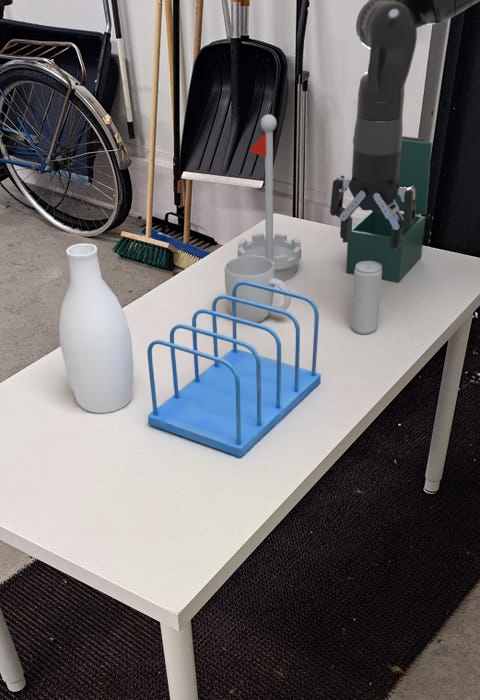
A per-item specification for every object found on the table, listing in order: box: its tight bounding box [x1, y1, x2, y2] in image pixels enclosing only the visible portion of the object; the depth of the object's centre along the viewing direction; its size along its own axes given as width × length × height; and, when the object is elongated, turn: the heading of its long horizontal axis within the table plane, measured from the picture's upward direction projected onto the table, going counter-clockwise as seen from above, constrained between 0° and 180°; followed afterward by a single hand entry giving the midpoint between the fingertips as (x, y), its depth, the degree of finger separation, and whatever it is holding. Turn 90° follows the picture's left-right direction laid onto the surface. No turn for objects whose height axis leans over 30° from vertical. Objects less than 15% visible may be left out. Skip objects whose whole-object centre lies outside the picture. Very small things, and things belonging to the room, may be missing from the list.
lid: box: [394, 135, 433, 216], centre depth 171 cm, size 14×11×5 cm
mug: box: [224, 256, 292, 324], centre depth 157 cm, size 13×9×10 cm
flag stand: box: [236, 113, 302, 281], centre depth 167 cm, size 13×13×30 cm
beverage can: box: [350, 261, 382, 335], centre depth 152 cm, size 5×5×12 cm
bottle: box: [58, 243, 134, 414], centre depth 132 cm, size 11×11×25 cm
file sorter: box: [146, 281, 322, 458], centre depth 133 cm, size 25×17×15 cm
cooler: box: [345, 210, 427, 284], centre depth 174 cm, size 13×11×9 cm
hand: (369, 245), depth 146 cm, fingers open, 8 cm apart
